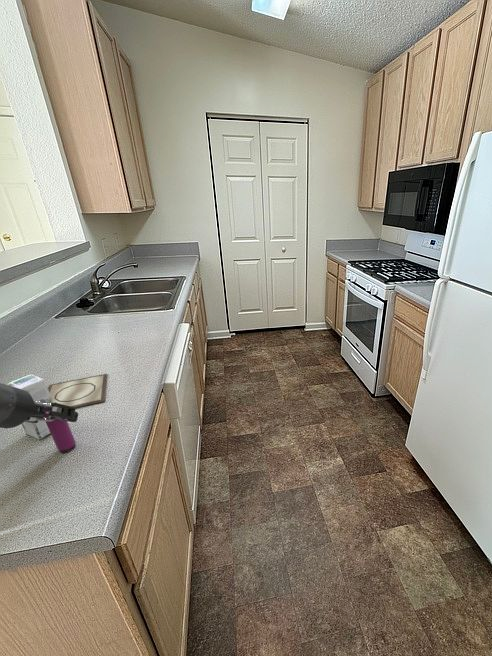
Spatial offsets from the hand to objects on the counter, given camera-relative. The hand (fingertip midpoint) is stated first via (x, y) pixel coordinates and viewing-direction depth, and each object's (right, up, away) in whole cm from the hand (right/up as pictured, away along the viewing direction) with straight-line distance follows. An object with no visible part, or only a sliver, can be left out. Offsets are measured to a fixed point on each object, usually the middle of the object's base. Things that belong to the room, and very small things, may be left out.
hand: (56, 417), depth 74 cm
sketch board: (-12, +3, +25) cm, 28 cm away
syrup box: (-10, -5, +9) cm, 14 cm away
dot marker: (0, -8, +3) cm, 8 cm away
